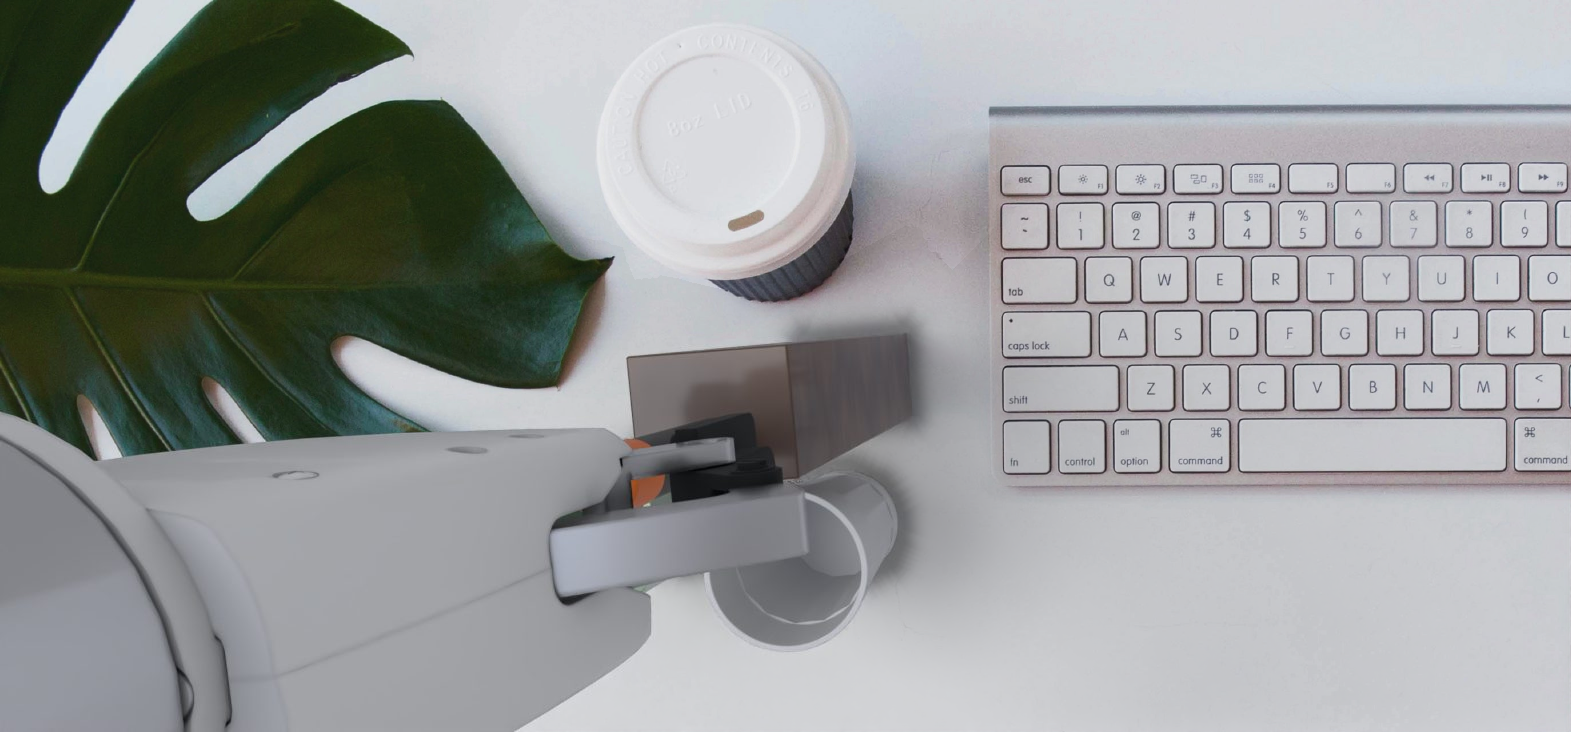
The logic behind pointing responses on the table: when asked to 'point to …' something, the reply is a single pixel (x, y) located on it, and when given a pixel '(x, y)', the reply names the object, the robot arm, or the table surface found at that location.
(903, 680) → the table surface
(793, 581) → the cup
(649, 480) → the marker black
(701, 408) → the stand
